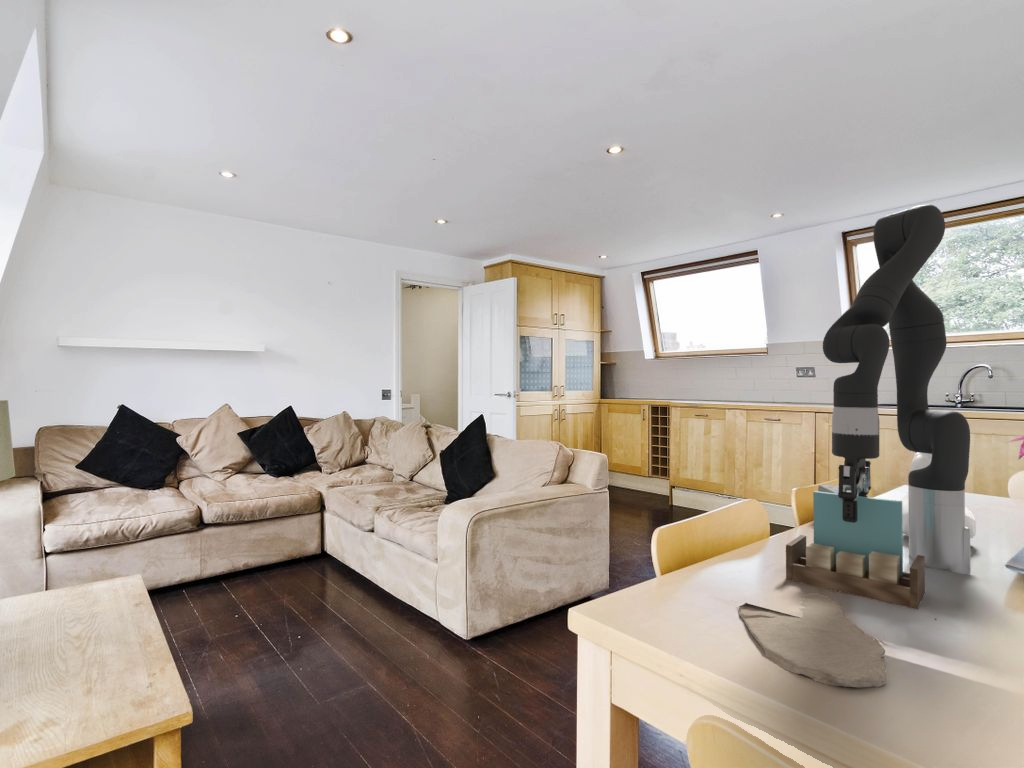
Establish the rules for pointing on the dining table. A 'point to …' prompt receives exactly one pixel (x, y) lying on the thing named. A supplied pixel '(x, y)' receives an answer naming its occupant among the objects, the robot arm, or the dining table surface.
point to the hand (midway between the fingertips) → (855, 517)
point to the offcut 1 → (820, 556)
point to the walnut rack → (857, 579)
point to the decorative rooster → (918, 463)
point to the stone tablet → (818, 643)
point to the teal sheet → (859, 526)
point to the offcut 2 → (884, 567)
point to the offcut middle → (851, 564)
